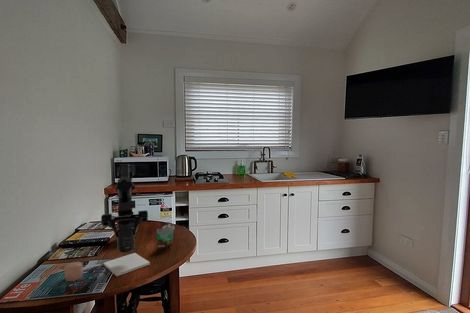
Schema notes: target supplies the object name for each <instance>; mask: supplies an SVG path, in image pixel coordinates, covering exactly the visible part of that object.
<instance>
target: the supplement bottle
mask: <svg viewBox="0 0 470 313" xmlns="http://www.w3.org/2000/svg"><path fill="white" fill-rule="evenodd" d="M131 226H132V225H131V222H130V221H123V222H120V223H119V225H118V229H117V238H116V239H117V240H116V242H117V245H116V246H117V247H116V248H117V251H118V252H119V253H121V254H127V253H130V252H132V251H134V249H135V244H136V243H135V238H134V236H135V235H134V227H133V228H132V227H131ZM119 228H120V229H119Z"/></svg>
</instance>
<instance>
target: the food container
mask: <svg viewBox="0 0 470 313" xmlns="http://www.w3.org/2000/svg"><path fill="white" fill-rule="evenodd" d="M174 230H175V225H174V223H173V222H169V221H167V222H166V224H165V225H163V226H161V227H160V228H156V235H157V249H167V248H170V247H172V246H173V244H174V243H173V240H174V238H173V237H174Z"/></svg>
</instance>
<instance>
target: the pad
mask: <svg viewBox="0 0 470 313" xmlns="http://www.w3.org/2000/svg"><path fill="white" fill-rule="evenodd" d="M150 264H151V262H150V261H149V260H148V259H146V258H144V257H142V255H139V254H138V253H136V252H133V253H129V254H127V255H124V256H120V257H117V258H114V259H112V260H108V261H105V262H103V266H104V267H105V268H106V269H108V271H109V272H111V273H112V274H114V276H116V277H119V276H121V275H125V274H127V273H131V272H133V271H136V270H138V269H142V268H144V267H147V266H149V265H150Z"/></svg>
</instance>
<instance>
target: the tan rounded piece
mask: <svg viewBox="0 0 470 313" xmlns="http://www.w3.org/2000/svg"><path fill="white" fill-rule="evenodd" d="M63 268H64V281H65V280H66V281H65V282H67V281H73V282H76V281H75V280H77V281H79V280H81V279H83V277H84V270H83V269H84V266H83V262H81V261H73V262H71V263H70V262H69V263H67V264H66V265H65V266H64V267H63ZM80 278H81V279H80ZM78 279H79V280H78Z"/></svg>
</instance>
